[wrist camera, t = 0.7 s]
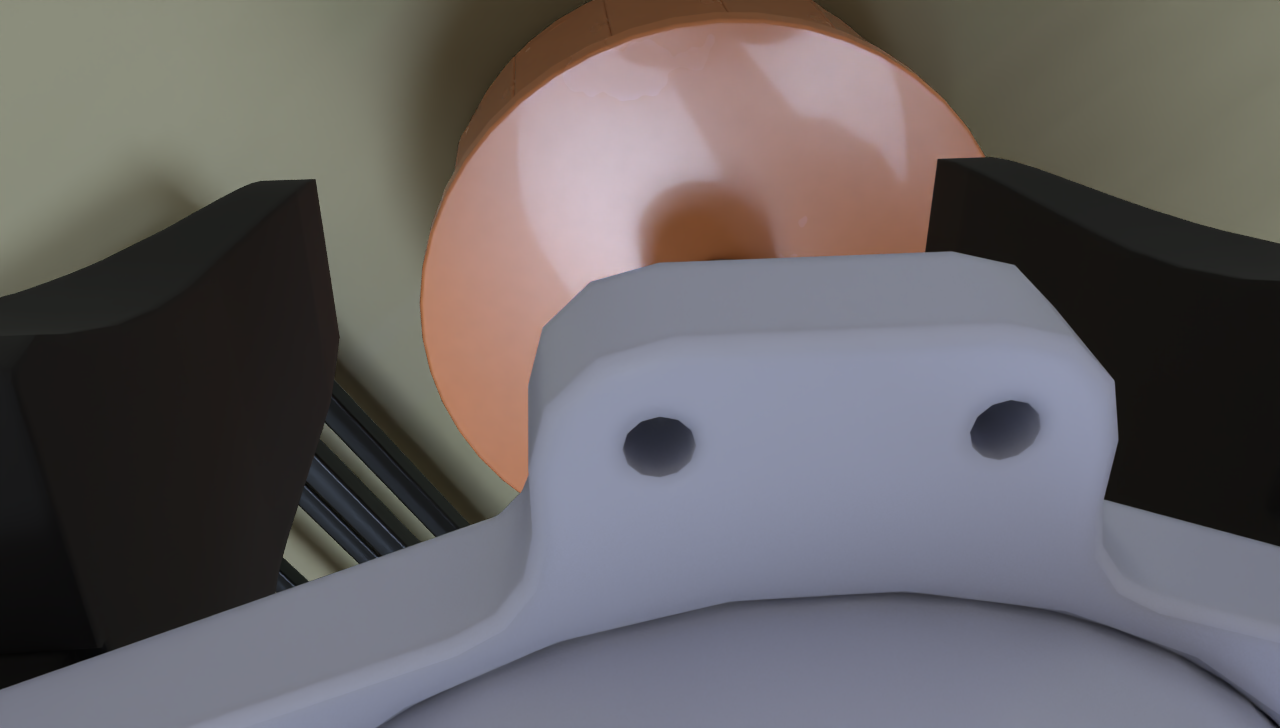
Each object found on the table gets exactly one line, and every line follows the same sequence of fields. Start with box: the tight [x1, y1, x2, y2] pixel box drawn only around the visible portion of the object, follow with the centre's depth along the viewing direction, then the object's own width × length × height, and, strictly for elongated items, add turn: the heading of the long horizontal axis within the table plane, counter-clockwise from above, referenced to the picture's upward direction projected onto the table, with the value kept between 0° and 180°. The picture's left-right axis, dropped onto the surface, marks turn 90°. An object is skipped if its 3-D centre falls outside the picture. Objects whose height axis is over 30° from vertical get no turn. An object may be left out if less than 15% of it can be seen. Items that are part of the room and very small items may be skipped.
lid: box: [420, 12, 985, 493], centre depth 20 cm, size 11×11×5 cm
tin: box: [454, 0, 869, 171], centre depth 23 cm, size 10×10×4 cm
